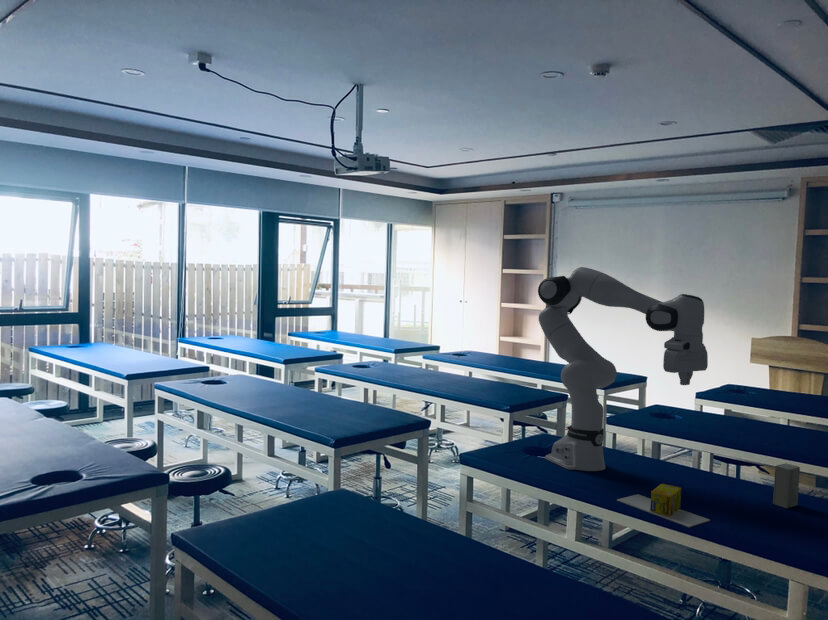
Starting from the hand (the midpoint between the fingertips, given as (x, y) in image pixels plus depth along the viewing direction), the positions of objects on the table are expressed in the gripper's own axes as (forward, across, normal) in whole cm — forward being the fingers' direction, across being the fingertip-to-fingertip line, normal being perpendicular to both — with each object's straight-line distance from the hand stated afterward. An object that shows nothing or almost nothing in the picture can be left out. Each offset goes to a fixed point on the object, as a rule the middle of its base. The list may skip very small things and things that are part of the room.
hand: (684, 384), depth 206 cm
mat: (+34, +27, +12) cm, 45 cm away
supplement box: (+30, +21, +11) cm, 38 cm away
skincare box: (+33, -12, +29) cm, 46 cm away
